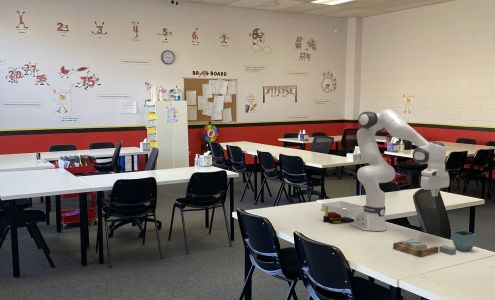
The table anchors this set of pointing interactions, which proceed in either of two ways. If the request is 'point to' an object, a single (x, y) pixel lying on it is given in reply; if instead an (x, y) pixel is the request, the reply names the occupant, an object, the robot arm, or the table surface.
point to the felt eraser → (447, 250)
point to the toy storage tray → (338, 208)
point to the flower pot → (463, 240)
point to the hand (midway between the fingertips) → (434, 196)
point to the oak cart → (414, 244)
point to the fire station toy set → (335, 217)
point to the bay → (415, 250)
